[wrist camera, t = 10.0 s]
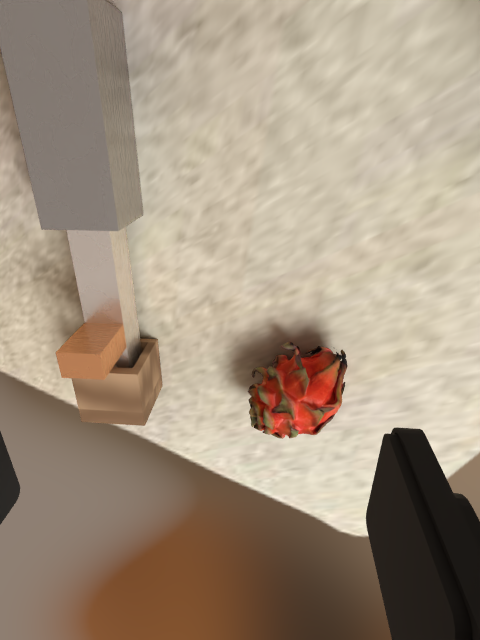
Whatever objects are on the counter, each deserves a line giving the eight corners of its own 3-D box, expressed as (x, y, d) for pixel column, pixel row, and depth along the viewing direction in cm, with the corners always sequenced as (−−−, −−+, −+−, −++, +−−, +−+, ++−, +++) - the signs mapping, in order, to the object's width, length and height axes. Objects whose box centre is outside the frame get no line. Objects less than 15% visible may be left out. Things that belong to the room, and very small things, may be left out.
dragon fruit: (246, 390, 45) (325, 323, 42) (291, 453, 42) (379, 386, 40) (213, 395, 37) (307, 314, 35) (265, 473, 34) (373, 391, 32)
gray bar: (74, 155, 32) (9, 164, 24) (116, 156, 32) (64, 165, 24) (111, 367, 42) (72, 423, 34) (144, 368, 41) (112, 425, 34)
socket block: (99, 336, 42) (69, 371, 36) (157, 339, 41) (137, 374, 35) (107, 382, 44) (81, 421, 38) (162, 385, 44) (144, 425, 38)
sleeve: (41, 13, 29) (-14, -13, 24) (121, 12, 29) (84, -16, 23) (77, 213, 36) (41, 229, 30) (143, 214, 35) (118, 231, 30)
